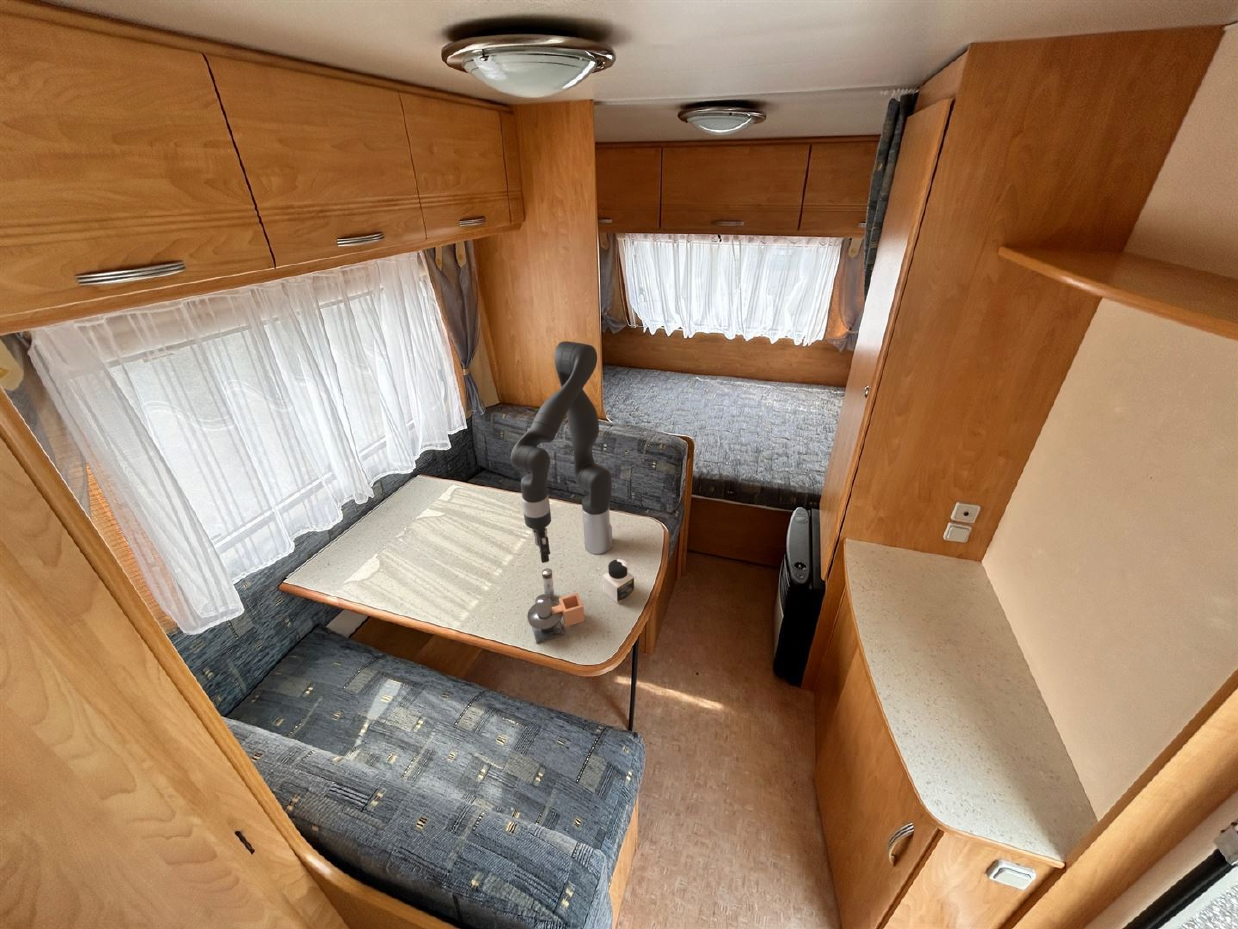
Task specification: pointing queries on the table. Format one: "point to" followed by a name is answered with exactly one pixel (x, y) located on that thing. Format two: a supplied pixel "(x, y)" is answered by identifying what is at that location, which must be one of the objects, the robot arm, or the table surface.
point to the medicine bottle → (618, 581)
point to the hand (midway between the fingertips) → (542, 552)
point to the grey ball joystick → (544, 619)
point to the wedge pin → (548, 583)
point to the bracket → (570, 609)
